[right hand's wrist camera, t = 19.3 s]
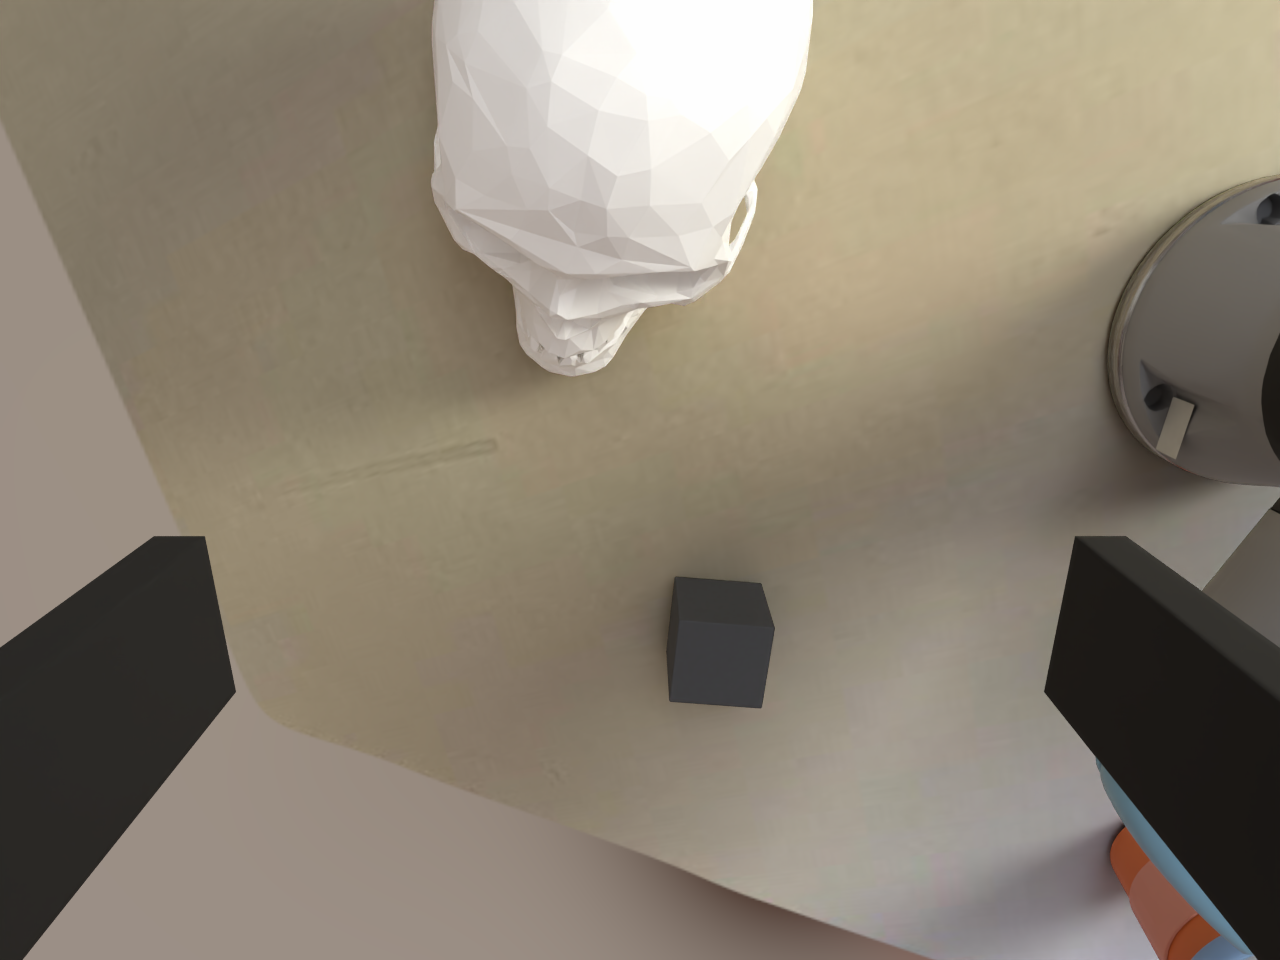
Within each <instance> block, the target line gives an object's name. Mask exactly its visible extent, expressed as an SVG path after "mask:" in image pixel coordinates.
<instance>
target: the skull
mask: <svg viewBox="0 0 1280 960" xmlns="http://www.w3.org/2000/svg"><path fill="white" fill-rule="evenodd" d="M812 15H813V0H434V9H433V18H432V52H433V66H434V79H435V93H436V106H437V120H438V127H437V131H436V135H435V139H434V172H433V174H432V178H431V188H432V192H433V197H434V202H435V204H436V206H437V208H438V209H439V211H440V213H441V215H442V217H443V219H444V221H445V223H446V225H447V227H448V229H449V231H450V233H451V235H452V237H453V239H454V241H455V242H456V243H457V244H458V245H459V246H460V247H461V248H462V249H463V250H465V251H468V252H470V253H473V254H475V255H476V256H477V257H478V258H480V259H481V260H482V261H483V262H484V263H485V264H487V265H488V266H489V267H490V268H492V269H493V270H494V271H496V272H497V273H498V274H500V275H501V276H503V277H504V278H505V279H507V280H508V281H509V282H510V283H511V284H512V286H513V294H514V301H515V308H516V328H517V333H518V338H519V343H520V345H521V347H522V348H523V350H524V351H525V353H526V354H527V355H528V356H529V357H530V358H532V359H533V360H534V361H535V362H536V363H538V364H539V365H540V366H541V367H542V368H544V369H546V370H547V371H549V372H552V373H557V374H561V375H566V376H570V377H573V376H578V375H583V374H588V373H592V372H595V371H597V370H599V369H601V368H603V367H605V366H606V365H607V364H608V363H609V362H610V360H611V359H612V358H613V357H614V355H615V353H616V352H617V350H618V348H619V347H620V345H621V343H622V342H623V340H624V338H625V337H626V335H627V334H628V332H629V331H630V330H631V328H632V327H633V326H634V324H635V323H636V321H637V320H638V319H639V317H640V316H641V315H642V313H643V312H644V311H645V310H646V309H647V308H648V307H656V306H660V305H665V304H670V303H672V304H677V305H682V306H685V305H687V304H690V303H692V302H694V301H696V300H697V299H699V298H700V297H701V296H703V295H704V294H705V293H707V292H708V291H709V290H711V289H712V288H713V287H715V286H716V285H717V284H719V283H720V282H721V281H722V279H723V278H724V277H725V276H726V275H727V274H728V273H729V272H730V270H731V268H732V266H733V264H734V262H735V260H736V258H737V256H738V254H739V252H740V250H741V248H742V246H743V244H744V241H745V238H746V236H747V233H748V230H749V228H750V225H751V222H752V219H753V217H754V214H755V208H756V198H757V186H756V183H755V180H754V179H755V177H756V176H757V174H758V173H759V171H760V170H761V168H762V166H763V165H764V163H765V161H766V159H767V158H768V156H769V154H770V152H771V151H772V149H773V147H774V145H775V144H776V142H777V140H778V139H779V137H780V135H781V132H782V130H783V128H784V126H785V124H786V122H787V120H788V117H789V115H790V113H791V111H792V109H793V107H794V104H795V102H796V100H797V98H798V96H799V93H800V90H801V88H802V84H803V80H804V77H805V73H806V66H807V58H808V49H809V41H810V33H811V25H812ZM743 197H744V198H745V203H746V209H747V215H746V217H745V219H744V221H743V223H742V225H741V228H740V230H739V232H738V234H737V236H736V238H735V239H734V241H733V242H732V243H731V244H730V245H729V237H730V229H731V223H732V219H733V217H734V215H735V212H736V210H737V208H738V206H739V204H740V202H741V201H742V199H743Z"/></svg>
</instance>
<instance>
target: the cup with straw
mask: <svg viewBox="0 0 1280 960" xmlns="http://www.w3.org/2000/svg"><path fill="white" fill-rule="evenodd" d="M1110 861H1111V865H1112V868H1113V870H1114V872H1115V873H1116V875H1117V877H1118V879H1119V881H1120V883H1121V884H1122V886H1123V888H1124V890H1125V892H1126V893H1127V895H1128V897H1129V900H1130V905H1131V908H1132V910H1133V912H1134V914H1135V916H1136V918H1137V920H1138V922H1139V923H1140V925H1141V927H1142V929H1143V931H1144V933H1145V934H1146V936H1147V938H1148V940H1149V942H1150V943H1151V945H1152V947H1153V949H1154V951H1155V953H1156V954H1157V956H1158V958H1159V960H1257V958H1256V957H1255V956H1254V955H1246V954H1243V953H1242V952H1240V951H1239V950H1238V949H1237V948H1235V947H1234V946H1233V945H1231V944H1230V943H1229V942H1228V941H1227V940H1226V939H1225V938H1224V937H1222V936H1221V935H1220V934H1219V933H1218V932H1217V931H1216V930H1215V929H1214V928H1213V927H1212V926H1210V925H1209V924H1208V923H1207V922H1206V921H1205V920H1204V919H1203V918H1202V917H1201V916H1200V915H1199V914H1198V913H1197V912H1196V911H1195V910H1194V909H1193V908H1192V907H1191V906H1190V905H1189V904H1188V903H1187V901H1186V900H1185V899H1184V898H1183V897H1182V896H1181V895H1180V894H1179V893H1178V892H1177V891H1176V889H1175V888H1174V887H1173V886H1172V885H1171V884H1170V883H1169V882H1168V881H1167V879H1166V878H1165V877H1164V876H1163V875H1162V874H1161V872H1160V871H1159V870H1158V869H1157V868H1156V866H1155V865H1154V864H1153V863H1152V862H1151V860H1150V859H1149V858H1148V857H1147V855H1146V854H1145V853H1144V851H1143V850H1142V849H1141V848H1140V846H1139V845H1138V843H1137V842H1136V841H1135V839H1134V838H1133V836H1132V835H1131V834H1130V832H1129V831H1128V829H1127V828H1126V827H1125V828H1123V829H1122V830H1121V831H1120V833H1119V834H1118V835H1117V837H1116V838H1115V840H1114V842H1113V844H1112V847H1111V851H1110Z"/></svg>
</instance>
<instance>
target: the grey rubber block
mask: <svg viewBox="0 0 1280 960" xmlns="http://www.w3.org/2000/svg"><path fill="white" fill-rule="evenodd" d="M774 630H775V627H774V624H773V621H772V617H771V614H770V611H769V608H768V604H767V601H766V598H765V594H764V591H763V588H762V585H761V584H760V583H749V582H736V581H723V580H710V579H698V578H685V577H675V581H674V589H673V598H672V607H671V616H670V625H669V633H668V642H667V651H666V652H667V670H668V687H669V701H670V702H681V703H695V704H708V705H722V706H735V707H749V708H762V703H763V697H764V691H765V685H766V678H767V672H768V666H769V660H770V654H771V648H772V642H773V636H774Z"/></svg>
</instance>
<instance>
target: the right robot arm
mask: <svg viewBox="0 0 1280 960" xmlns="http://www.w3.org/2000/svg"><path fill="white" fill-rule="evenodd" d="M1107 368H1108V378H1109V384H1110V389H1111V394H1112V397H1113V400H1114V403H1115V406H1116V408H1117V410H1118V412H1119V414H1120V416H1121V418H1122V420H1123V422H1124V423H1125V425H1126V426H1127V428H1128V429H1129V431H1130V432H1131V433H1132V434H1133V435H1134V437H1135V438H1136V439H1137V440H1138V441H1139V442H1140V443H1141V444H1142V445H1143V446H1144V447H1146V448H1147V449H1148V450H1150V451H1151V452H1152V453H1154V454H1155V455H1157V456H1159V457H1160V458H1162V459H1164V460H1166V461H1167V462H1169V463H1171V464H1173V465H1175V466H1177V467H1179V468H1181V469H1183V470H1186V471H1188V472H1190V473H1193V474H1196V475H1199V476H1202V477H1206V478H1209V479H1213V480H1217V481H1221V482H1226V483H1233V484H1243V485H1258V486H1274V487H1280V175H1274V176H1269V177H1264V178H1260V179H1256V180H1253V181H1250V182H1246V183H1244V184H1241V185H1239V186H1236V187H1233V188H1231V189H1229V190H1227V191H1225V192H1223V193H1221V194H1219V195H1217V196H1215V197H1213V198H1211V199H1210V200H1208V201H1206V202H1205V203H1203V204H1201V205H1200V206H1198V207H1197V208H1195V209H1194V210H1193V211H1191V212H1190V213H1189V214H1187V215H1186V216H1185V217H1183V218H1182V219H1181V220H1180V221H1179V222H1177V223H1176V224H1175V225H1174V226H1173V227H1172V228H1171V229H1170V230H1169V231H1168V232H1167V233H1166V234H1165V235H1164V236H1163V237H1162V238H1161V239H1160V240H1159V241H1158V242H1157V243H1156V244H1155V245H1154V247H1153V248H1152V249H1151V250H1150V251H1149V252H1148V254H1147V255H1146V256H1145V258H1144V259H1143V261H1142V262H1141V263H1140V265H1139V266H1138V268H1137V269H1136V271H1135V273H1134V274H1133V276H1132V277H1131V279H1130V281H1129V283H1128V285H1127V287H1126V289H1125V291H1124V293H1123V295H1122V297H1121V300H1120V302H1119V305H1118V307H1117V310H1116V313H1115V316H1114V320H1113V323H1112V327H1111V332H1110V337H1109V344H1108V365H1107ZM235 692H236V690H235V685H234V680H233V675H232V670H231V665H230V660H229V655H228V650H227V645H226V640H225V635H224V630H223V625H222V620H221V615H220V610H219V605H218V600H217V595H216V590H215V585H214V580H213V575H212V570H211V565H210V560H209V555H208V550H207V545H206V540H205V536H154V537H152V538H151V539H150V540H148V541H147V542H146V543H144V544H143V545H141V546H140V547H139V548H137V549H136V550H134V551H133V552H132V553H130V554H129V555H128V556H126V557H125V558H123V559H122V560H121V561H119V562H118V563H117V564H115V565H114V566H112V567H111V568H110V569H108V570H107V571H105V572H104V573H103V574H101V575H100V576H99V577H97V578H96V579H94V580H93V581H92V582H90V583H89V584H87V585H86V586H85V587H83V588H82V589H81V590H79V591H78V592H76V593H75V594H74V595H72V596H71V597H69V598H68V599H67V600H65V601H64V602H63V603H61V604H60V605H59V606H57V607H56V608H54V609H53V610H52V611H50V612H49V613H47V614H46V615H45V616H43V617H42V618H41V619H39V620H38V621H36V622H35V623H34V624H32V625H31V626H29V627H28V628H27V629H25V630H24V631H23V632H21V633H20V634H18V635H17V636H16V637H14V638H13V639H11V640H10V641H9V642H7V643H6V644H5V645H3V646H2V647H0V960H23V958H24V957H25V956H26V955H27V953H28V952H29V951H30V950H31V948H32V947H33V946H34V945H35V943H36V942H37V941H38V940H39V938H40V937H41V936H42V935H43V933H44V932H45V931H46V930H47V928H48V927H49V926H50V925H51V923H52V922H53V921H54V920H55V918H56V917H57V916H58V915H59V913H60V912H61V911H62V910H63V908H64V907H65V906H66V904H67V903H68V902H69V901H70V899H71V898H72V897H73V896H74V894H75V893H76V892H77V891H78V889H79V888H80V887H81V886H82V884H83V883H84V882H85V881H86V879H87V878H88V877H89V876H90V874H91V873H92V872H93V871H94V869H95V868H96V867H97V866H98V864H99V863H100V862H101V861H102V859H103V858H104V857H105V855H106V854H107V853H108V852H109V851H110V849H111V848H112V847H113V845H114V844H115V843H116V842H117V840H118V839H119V838H120V837H121V835H122V834H123V833H124V832H125V830H126V829H127V828H128V827H129V825H130V824H131V823H132V822H133V820H134V819H135V818H136V817H137V815H138V814H139V813H140V812H141V810H142V809H143V808H144V807H145V805H146V804H147V803H148V801H149V800H150V799H151V798H152V797H153V795H154V794H155V793H156V792H157V790H158V789H159V788H160V787H161V785H162V784H163V783H164V781H165V780H166V779H167V778H168V776H169V775H170V774H171V773H172V771H173V770H174V769H175V768H176V766H177V765H178V764H179V763H180V761H181V760H182V759H183V758H184V756H185V755H186V754H187V753H188V751H189V750H190V749H191V748H192V746H193V745H194V744H195V743H196V741H197V740H198V739H199V738H200V736H201V735H202V734H203V733H204V731H205V730H206V729H207V728H208V726H209V725H210V724H211V722H212V721H213V720H214V719H215V717H216V716H217V715H218V714H219V712H220V711H221V710H222V709H223V707H224V706H225V705H226V704H227V702H228V701H229V700H230V699H231V697H232V696H233V695H234V694H235ZM1044 692H1045V694H1046V695H1047V696H1048V697H1049V699H1050V700H1051V701H1052V702H1053V704H1054V705H1055V706H1056V707H1057V709H1058V710H1059V711H1060V712H1061V714H1062V715H1063V716H1064V717H1065V719H1066V720H1067V721H1068V722H1069V724H1070V725H1071V726H1072V728H1073V729H1074V730H1075V731H1076V733H1077V734H1078V735H1079V736H1080V738H1081V739H1082V740H1083V741H1084V743H1085V744H1086V745H1087V746H1088V748H1089V749H1090V750H1091V751H1092V753H1093V754H1094V755H1095V756H1096V764H1097V767H1098V769H1099V771H1100V775H1101V780H1102V783H1103V786H1104V789H1105V791H1106V793H1107V795H1108V797H1109V799H1110V801H1111V803H1112V805H1113V807H1114V808H1115V810H1116V812H1117V814H1118V815H1119V817H1120V818H1121V820H1122V822H1123V823H1124V825H1125V826H1126V828H1127V829H1128V831H1129V832H1130V834H1131V835H1132V836H1133V838H1134V839H1135V841H1136V842H1137V843H1138V845H1139V846H1140V848H1141V849H1142V850H1143V851H1144V853H1145V854H1146V855H1147V857H1148V858H1149V859H1150V860H1151V862H1152V863H1153V864H1154V865H1155V866H1156V868H1157V869H1158V870H1159V871H1160V872H1161V874H1162V875H1163V876H1164V877H1165V878H1166V879H1167V881H1168V882H1169V883H1170V884H1171V885H1172V886H1173V887H1174V888H1175V889H1176V891H1177V892H1178V893H1179V894H1180V895H1181V896H1182V897H1183V898H1184V899H1185V900H1186V901H1187V903H1188V904H1189V905H1190V906H1191V907H1192V908H1193V909H1194V910H1195V911H1196V912H1197V913H1198V914H1199V915H1200V916H1201V917H1202V918H1203V919H1204V920H1205V921H1206V922H1207V923H1208V924H1209V925H1210V926H1212V927H1213V928H1214V929H1215V930H1216V931H1217V932H1218V933H1219V934H1220V935H1221V936H1222V937H1224V938H1225V939H1226V940H1227V941H1228V942H1229V943H1230V944H1231V945H1233V946H1234V947H1235V948H1237V949H1238V950H1239V951H1240V952H1242V953H1243V954H1246V955H1254V956H1255V957H1256V958H1257V960H1280V498H1279V499H1278V500H1277V502H1276V503H1275V504H1274V505H1273V506H1272V507H1271V508H1270V509H1269V510H1268V511H1267V512H1266V513H1265V515H1264V516H1263V517H1262V518H1261V520H1260V521H1259V522H1258V523H1257V524H1256V526H1255V527H1254V528H1253V529H1252V530H1251V532H1250V533H1249V534H1248V535H1247V537H1246V538H1245V539H1244V540H1243V541H1242V543H1241V544H1240V545H1239V546H1238V548H1237V549H1236V550H1235V551H1234V552H1233V554H1232V555H1231V556H1230V557H1229V559H1228V560H1227V561H1226V562H1225V563H1224V565H1223V566H1222V567H1221V568H1220V570H1219V571H1218V572H1217V573H1216V574H1215V576H1214V577H1213V578H1212V579H1211V581H1210V582H1209V583H1208V584H1207V585H1206V587H1205V588H1204V589H1203V590H1202V591H1201V590H1199V589H1198V588H1197V587H1195V586H1194V585H1193V584H1191V583H1190V582H1188V581H1187V580H1186V579H1184V578H1183V577H1181V576H1180V575H1179V574H1177V573H1176V572H1175V571H1173V570H1172V569H1170V568H1169V567H1168V566H1166V565H1165V564H1164V563H1162V562H1161V561H1159V560H1158V559H1157V558H1155V557H1154V556H1152V555H1151V554H1150V553H1148V552H1147V551H1146V550H1144V549H1143V548H1141V547H1140V546H1139V545H1137V544H1136V543H1135V542H1133V541H1132V540H1130V539H1129V538H1128V537H1126V536H1075V540H1074V545H1073V550H1072V555H1071V560H1070V565H1069V570H1068V575H1067V580H1066V585H1065V590H1064V595H1063V600H1062V605H1061V610H1060V615H1059V620H1058V625H1057V630H1056V635H1055V640H1054V645H1053V650H1052V655H1051V660H1050V665H1049V670H1048V675H1047V680H1046V685H1045V690H1044Z"/></svg>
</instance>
